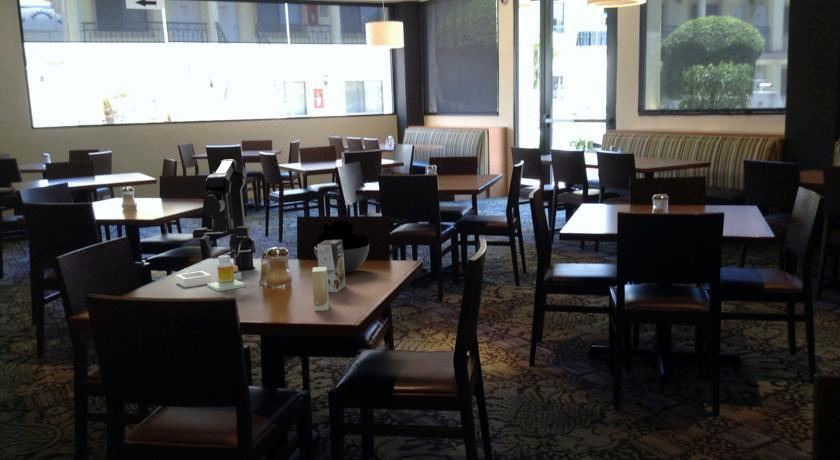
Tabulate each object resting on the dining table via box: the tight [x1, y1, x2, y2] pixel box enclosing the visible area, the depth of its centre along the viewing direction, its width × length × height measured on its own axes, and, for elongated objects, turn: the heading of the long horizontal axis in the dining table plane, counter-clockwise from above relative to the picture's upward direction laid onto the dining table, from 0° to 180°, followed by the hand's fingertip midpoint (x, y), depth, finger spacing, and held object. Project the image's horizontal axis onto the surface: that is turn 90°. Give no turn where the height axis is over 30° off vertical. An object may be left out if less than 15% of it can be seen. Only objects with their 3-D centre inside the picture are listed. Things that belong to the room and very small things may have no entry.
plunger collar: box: [216, 270, 242, 281], centre depth 276 cm, size 7×7×2 cm
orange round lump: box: [233, 264, 239, 272], centre depth 275 cm, size 6×6×4 cm
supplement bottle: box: [216, 254, 234, 285], centre depth 263 cm, size 5×5×10 cm
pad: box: [207, 279, 246, 292], centre depth 264 cm, size 10×10×1 cm
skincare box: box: [311, 266, 330, 312], centre depth 228 cm, size 6×4×12 cm
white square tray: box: [175, 270, 213, 288], centre depth 272 cm, size 10×10×3 cm
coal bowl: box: [313, 220, 370, 274], centre depth 277 cm, size 20×20×19 cm
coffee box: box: [316, 240, 346, 293], centre depth 252 cm, size 9×6×16 cm
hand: (223, 256), depth 262 cm, fingers open, 9 cm apart
